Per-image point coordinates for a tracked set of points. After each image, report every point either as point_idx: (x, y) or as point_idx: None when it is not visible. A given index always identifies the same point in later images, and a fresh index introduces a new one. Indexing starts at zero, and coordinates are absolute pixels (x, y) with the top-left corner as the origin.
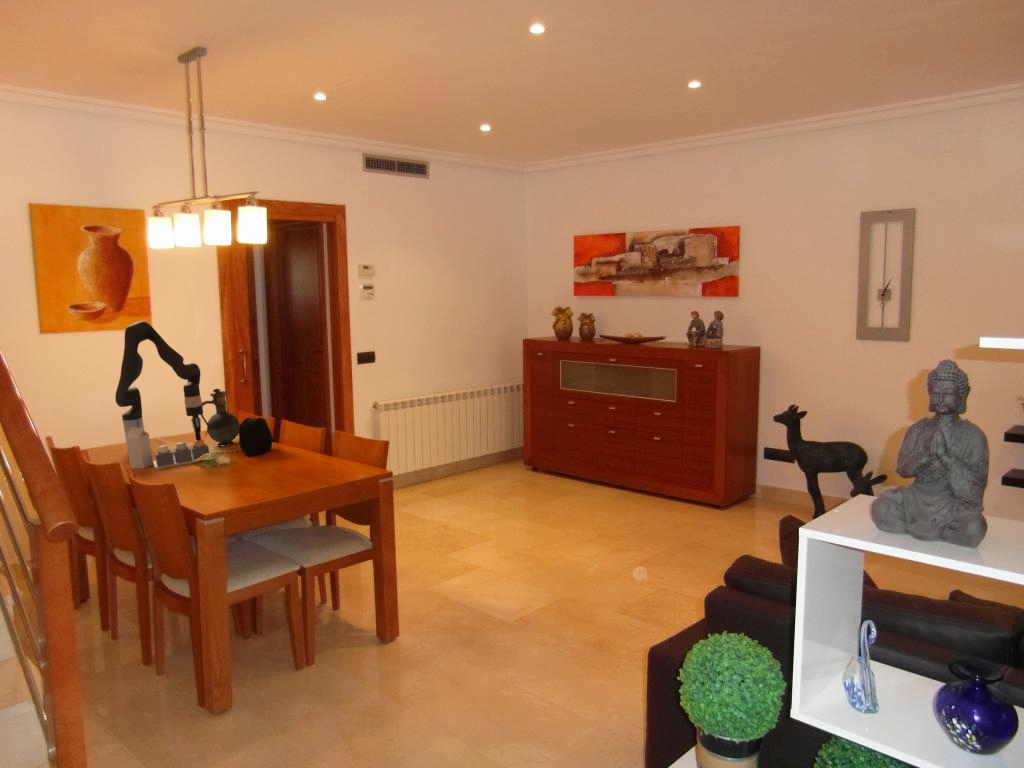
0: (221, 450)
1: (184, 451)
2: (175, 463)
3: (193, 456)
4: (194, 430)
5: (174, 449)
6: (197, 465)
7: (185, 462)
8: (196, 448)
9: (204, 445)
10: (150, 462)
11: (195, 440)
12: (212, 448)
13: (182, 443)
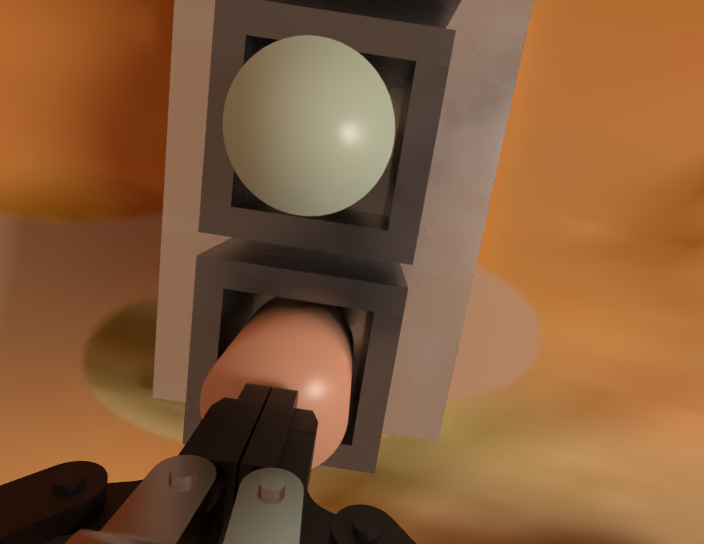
0: (450, 530)
1: (212, 145)
2: (189, 16)
3: (232, 238)
4: (236, 504)
5: (391, 38)
6: (31, 205)
7: (169, 126)
8: (193, 305)
9: (352, 434)
10: None
11: (324, 377)
12: (614, 502)
13: (278, 149)
